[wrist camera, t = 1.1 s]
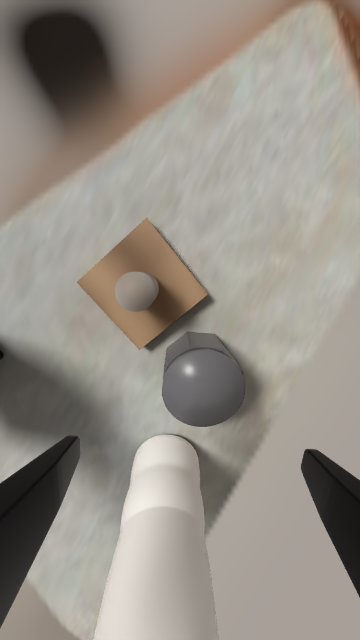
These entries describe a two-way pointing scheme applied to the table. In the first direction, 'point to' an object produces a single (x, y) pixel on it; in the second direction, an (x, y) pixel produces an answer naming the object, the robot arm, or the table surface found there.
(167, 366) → the cap
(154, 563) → the water bottle
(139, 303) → the stud block
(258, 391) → the table surface
